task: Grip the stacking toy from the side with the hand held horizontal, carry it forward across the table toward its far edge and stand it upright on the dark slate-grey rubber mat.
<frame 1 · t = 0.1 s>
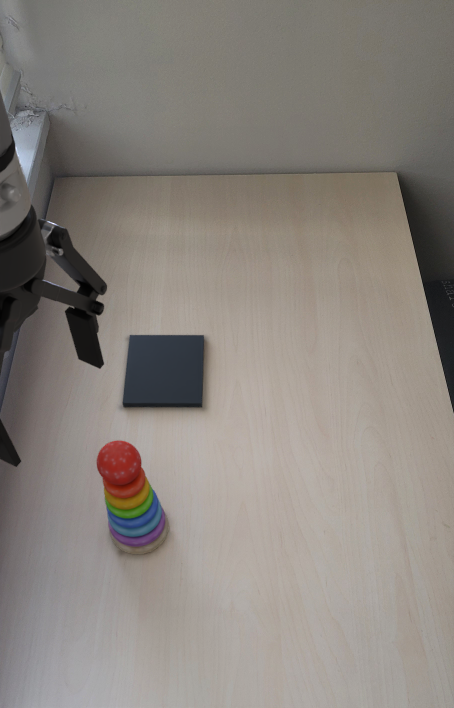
hand: (51, 408, 63), 27 cm above the table, tool pointing down, fingers open, 13 cm apart
stacking toy: (140, 530, 87), on the table
mat: (165, 372, 101), on the table
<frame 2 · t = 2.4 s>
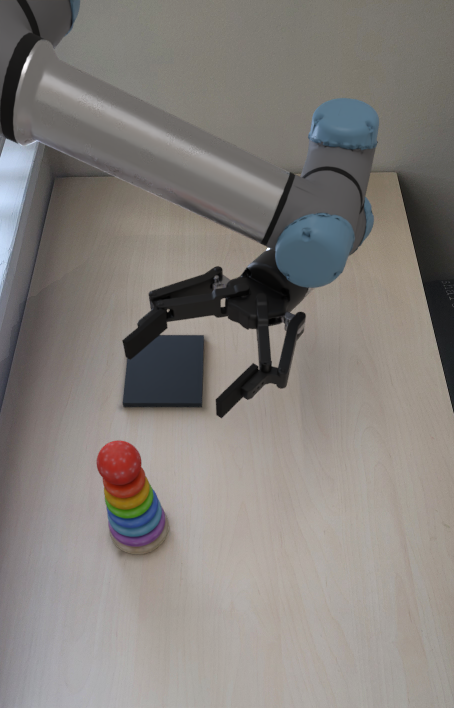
hand: (170, 379, 71), 22 cm above the table, tool horizontal, fingers open, 13 cm apart
nothing on the table moved.
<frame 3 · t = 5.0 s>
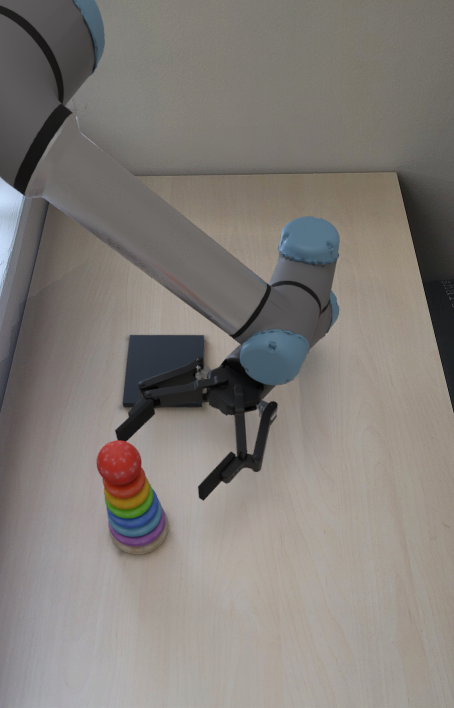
hand: (158, 465, 80), 10 cm above the table, tool horizontal, fingers open, 13 cm apart
nothing on the table moved.
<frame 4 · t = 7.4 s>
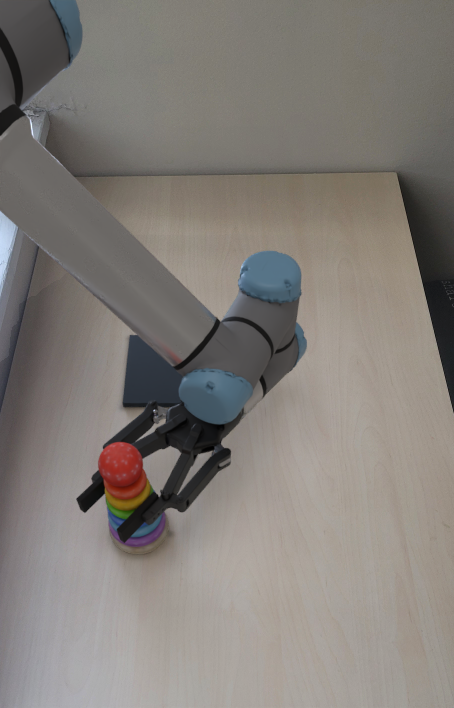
hand: (100, 520, 76), 10 cm above the table, tool horizontal, fingers closed on stacking toy, 6 cm apart
stacking toy: (140, 530, 87), on the table, touching gripper
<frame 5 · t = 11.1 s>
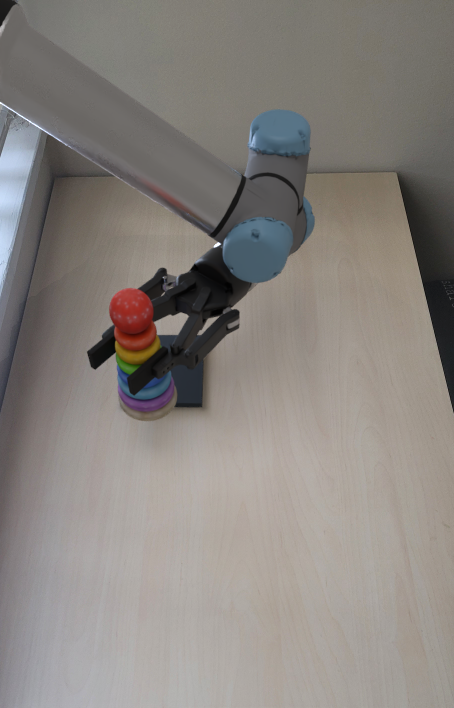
hand: (110, 373, 77), 18 cm above the table, tool horizontal, fingers closed on stacking toy, 6 cm apart
stacking toy: (148, 401, 88), point 8 cm above the table, touching gripper
when the fingers open (11 cm above the table, at t = 14.9 s): stacking toy stays where it is, resting on mat.
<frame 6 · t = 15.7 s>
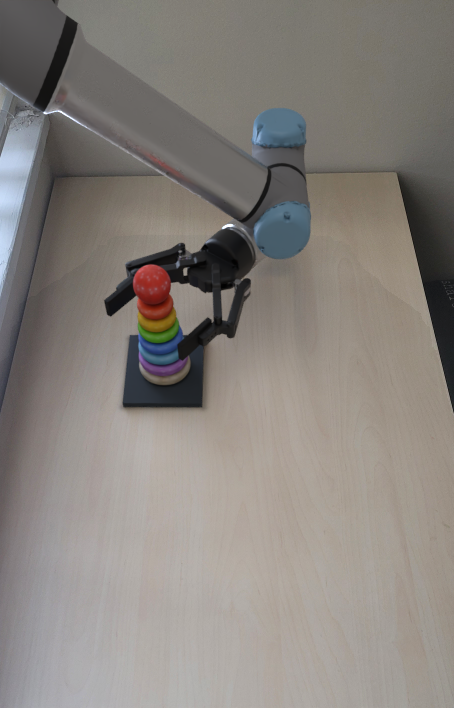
hand: (142, 330, 89), 12 cm above the table, tool horizontal, fingers open, 13 cm apart
stacking toy: (165, 369, 100), point 1 cm above the table, touching mat
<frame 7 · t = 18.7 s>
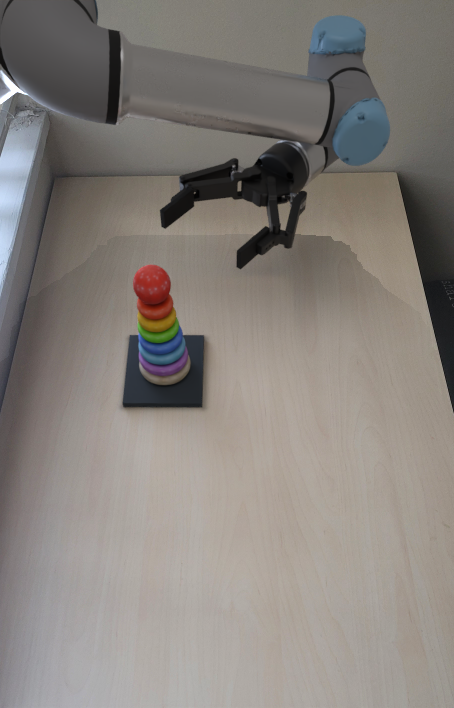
hand: (199, 239, 88), 19 cm above the table, tool horizontal, fingers open, 13 cm apart
nothing on the table moved.
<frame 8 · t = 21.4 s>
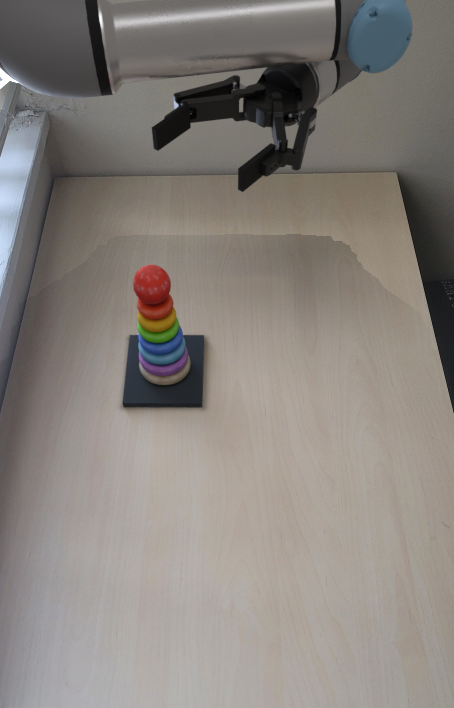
hand: (196, 159, 78), 30 cm above the table, tool horizontal, fingers open, 13 cm apart
nothing on the table moved.
at the end: stacking toy inside the target area on the mat (0.1 cm from its centre), point 0.8 cm above the mat's base; stacking toy tilted 0°; stacking toy moved 28.0 cm from its start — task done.
